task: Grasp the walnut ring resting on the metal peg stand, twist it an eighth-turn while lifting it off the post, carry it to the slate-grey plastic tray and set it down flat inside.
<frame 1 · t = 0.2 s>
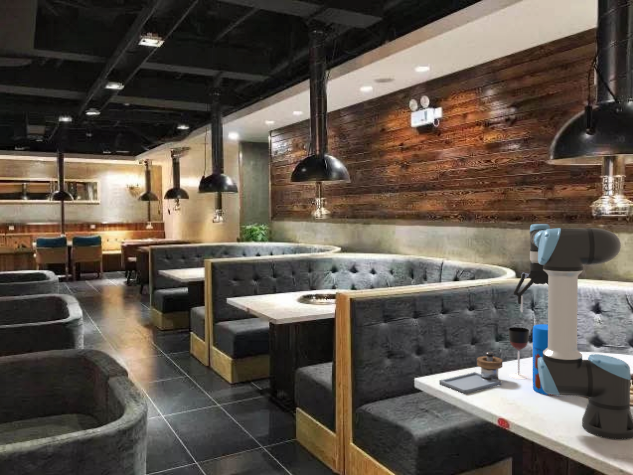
hand: (539, 312, 217), 28 cm above the table, fingers open, 13 cm apart
metal peg stand: (489, 379, 218), on the table
tray: (470, 384, 213), on the table
wineglass: (518, 376, 222), on the table
thermos: (547, 391, 204), on the table
ring: (489, 365, 218), point 6 cm above the table, touching metal peg stand
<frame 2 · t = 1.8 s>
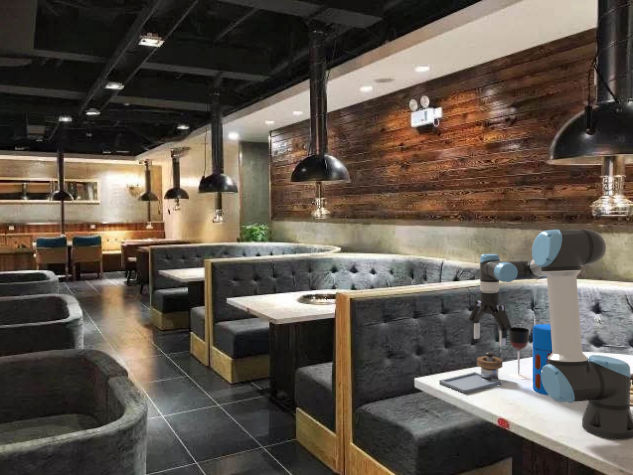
hand: (489, 342, 218), 16 cm above the table, fingers open, 13 cm apart
nothing on the table moved.
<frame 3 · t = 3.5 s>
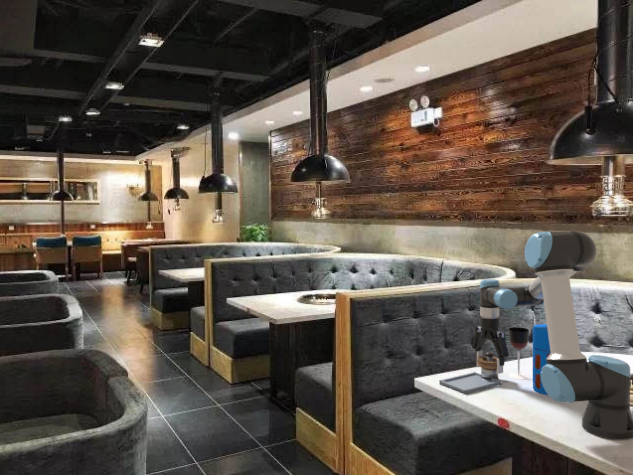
hand: (489, 369, 218), 4 cm above the table, fingers closed on ring, 10 cm apart
ring: (489, 365, 218), point 6 cm above the table, touching gripper, metal peg stand
everything else where it was.
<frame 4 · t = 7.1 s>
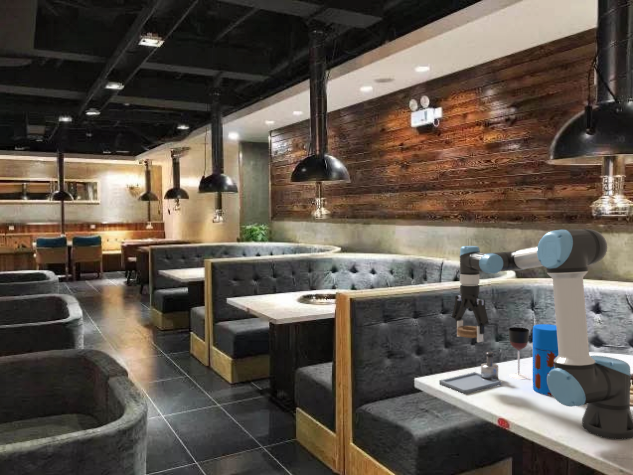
hand: (469, 338, 212), 19 cm above the table, fingers closed on ring, 10 cm apart
ring: (469, 334, 212), point 20 cm above the table, touching gripper
everything else where it was.
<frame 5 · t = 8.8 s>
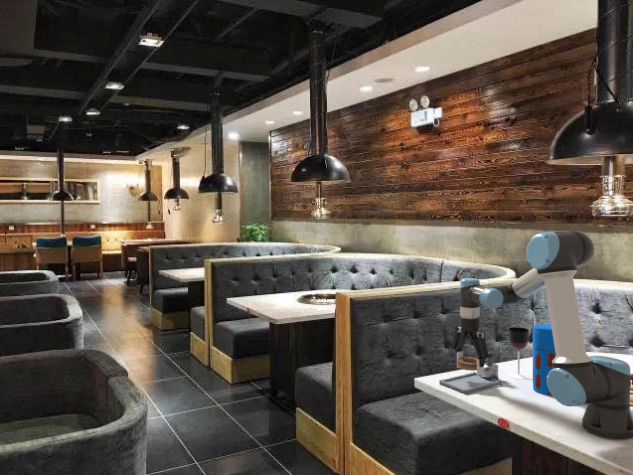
hand: (469, 370, 213), 6 cm above the table, fingers closed on ring, 10 cm apart
ring: (469, 366, 213), point 7 cm above the table, touching gripper
everything else where it was.
when the fingers open (2 cm above the table, at t = 10.5 s): ring drops 3 cm, resting on tray.
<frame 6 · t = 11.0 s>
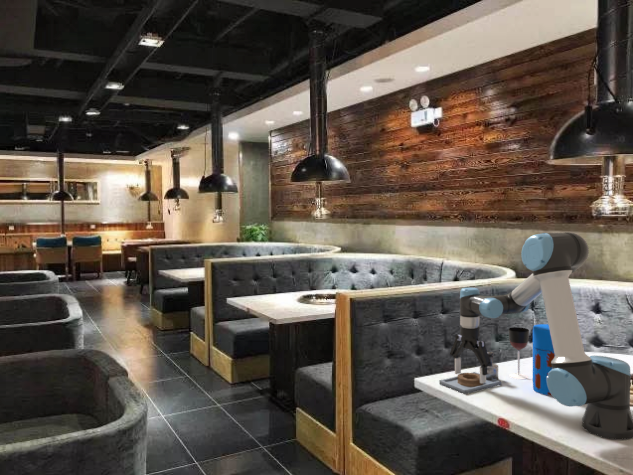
hand: (470, 378, 213), 3 cm above the table, fingers open, 13 cm apart
ring: (470, 382, 213), point 1 cm above the table, touching tray
everything else where it was.
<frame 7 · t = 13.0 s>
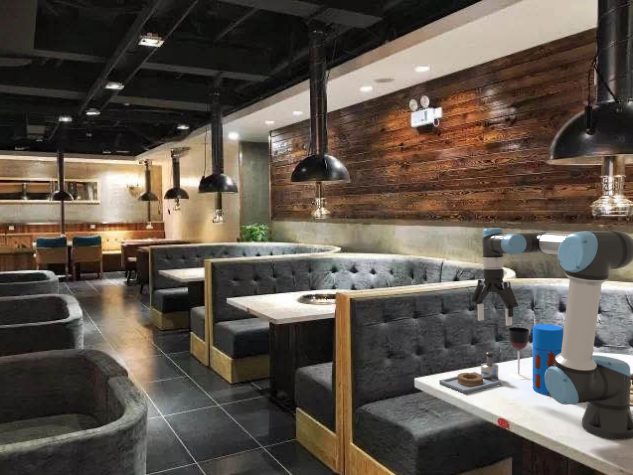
hand: (494, 322, 203), 27 cm above the table, fingers open, 13 cm apart
nothing on the table moved.
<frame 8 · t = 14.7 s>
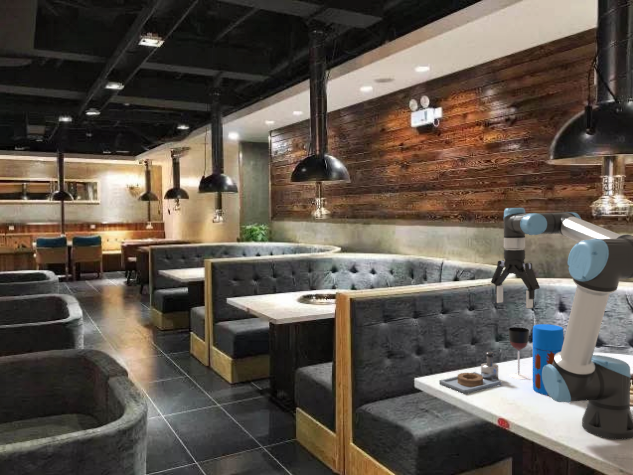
hand: (514, 305, 198), 35 cm above the table, fingers open, 13 cm apart
nothing on the table moved.
at the end: ring 0.0 cm from the tray (horizontally); ring point 0.8 cm above the table; ring tilted 0° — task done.
